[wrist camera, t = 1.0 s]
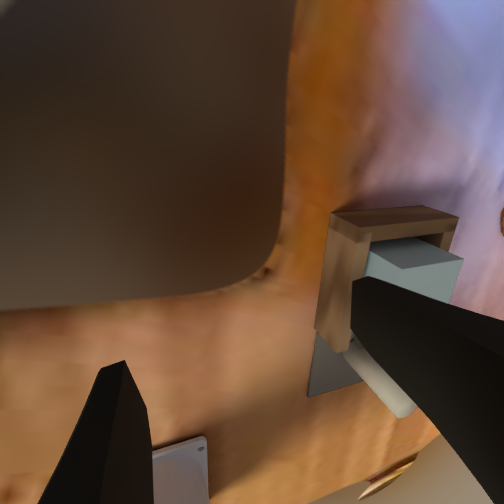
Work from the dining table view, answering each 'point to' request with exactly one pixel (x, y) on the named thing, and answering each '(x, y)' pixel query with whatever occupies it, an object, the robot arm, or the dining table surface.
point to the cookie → (502, 221)
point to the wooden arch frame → (355, 256)
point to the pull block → (412, 278)
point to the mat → (329, 369)
